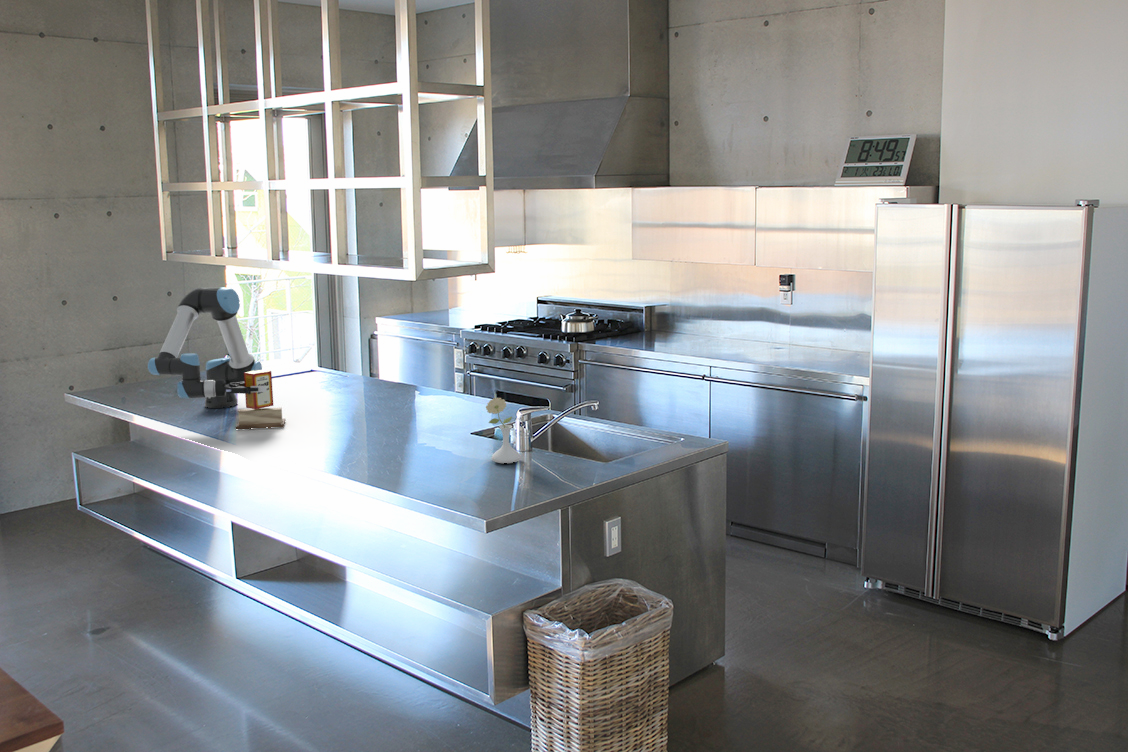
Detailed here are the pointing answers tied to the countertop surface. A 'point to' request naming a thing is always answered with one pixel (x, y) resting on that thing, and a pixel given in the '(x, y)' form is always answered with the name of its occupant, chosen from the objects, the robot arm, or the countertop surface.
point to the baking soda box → (259, 398)
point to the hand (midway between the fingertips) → (267, 386)
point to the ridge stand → (260, 418)
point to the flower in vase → (506, 451)
